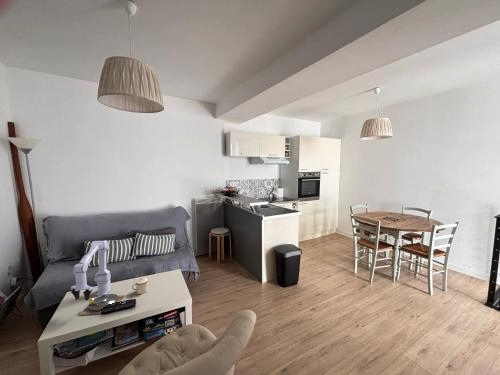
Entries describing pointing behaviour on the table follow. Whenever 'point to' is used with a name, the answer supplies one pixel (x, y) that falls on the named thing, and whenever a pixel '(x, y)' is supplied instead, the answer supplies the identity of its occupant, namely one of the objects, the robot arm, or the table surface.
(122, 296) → the base plate
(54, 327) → the table surface
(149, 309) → the table surface
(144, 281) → the teacup with lid
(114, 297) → the handwheel
